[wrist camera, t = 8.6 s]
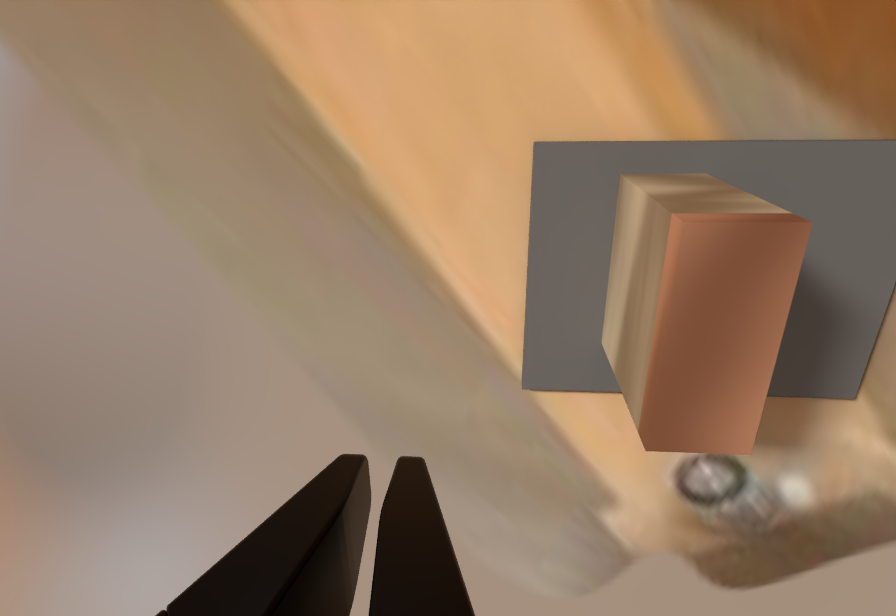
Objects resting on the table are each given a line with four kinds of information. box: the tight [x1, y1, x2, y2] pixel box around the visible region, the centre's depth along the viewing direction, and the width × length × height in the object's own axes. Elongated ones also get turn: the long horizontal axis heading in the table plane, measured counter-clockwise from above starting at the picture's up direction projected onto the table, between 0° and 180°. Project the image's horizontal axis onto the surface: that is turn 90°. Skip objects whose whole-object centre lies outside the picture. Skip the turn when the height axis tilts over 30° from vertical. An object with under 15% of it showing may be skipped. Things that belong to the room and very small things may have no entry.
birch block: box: [602, 173, 813, 455], centre depth 15 cm, size 3×6×6 cm, turn 1°
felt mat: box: [522, 140, 896, 399], centre depth 18 cm, size 12×9×1 cm
